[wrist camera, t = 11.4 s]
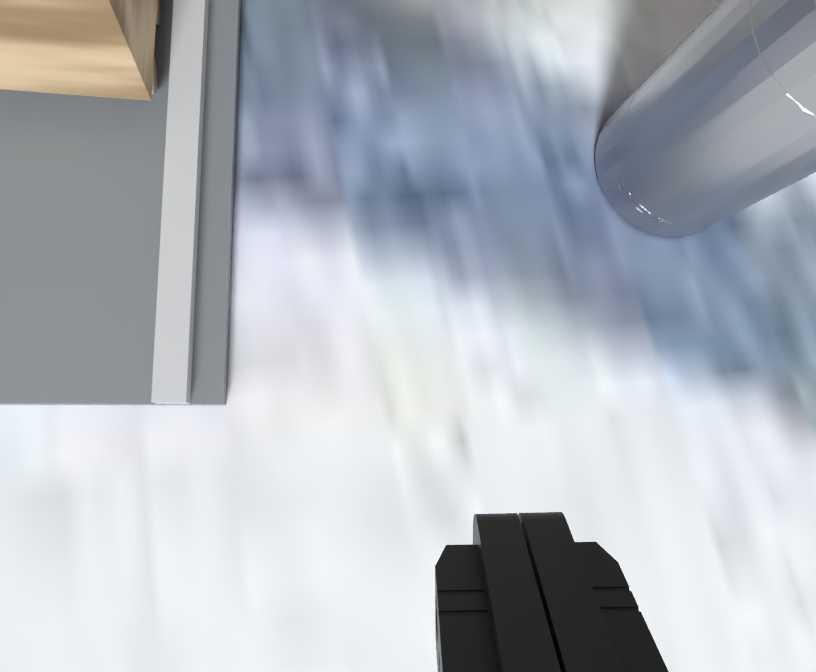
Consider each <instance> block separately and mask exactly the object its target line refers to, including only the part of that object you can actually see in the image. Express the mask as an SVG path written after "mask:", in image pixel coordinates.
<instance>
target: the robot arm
mask: <svg viewBox="0 0 816 672" xmlns="http://www.w3.org/2000/svg"><path fill="white" fill-rule="evenodd" d="M595 166H596V172H597V177H598V181H599V183H600V186H601V188H602V191H603V193H604V195H605V196H606V198H607V199H608V201H609V203H610V204H611V206H612V207H613V208H614V209H615V210H616V211H617V212H618V213H619V215H620V216H621V217H622V218H623V219H625V220H626V221H627V222H629V223H630V224H632V225H633V226H634V227H636V228H638V229H640V230H642V231H645V232H647V233H649V234H652V235H657V236H661V237H683V236H688V235H692V234H694V233H696V232H699V231H701V230H703V229H705V228H707V227H709V226H711V225H712V224H714V223H716V222H718V221H720V220H722V219H724V218H726V217H728V216H730V215H732V214H734V213H736V212H738V211H741V210H743V209H745V208H747V207H749V206H750V205H752V204H754V203H756V202H758V201H760V200H762V199H764V198H766V197H768V196H770V195H772V194H774V193H776V192H778V191H780V190H782V189H783V188H785V187H787V186H789V185H791V184H793V183H795V182H797V181H799V180H801V179H803V178H805V177H807V176H809V175H811V174H813V173H815V172H816V0H724V1H723V2H722V3H721V4H720V5H719V6H718V7H717V8H716V9H715V10H714V11H713V12H712V13H711V14H710V15H709V16H708V17H707V18H706V19H705V20H704V21H703V22H702V23H701V24H700V25H699V26H698V27H697V28H696V29H695V30H694V31H693V32H692V33H691V34H690V35H689V36H688V38H687V39H686V40H685V41H684V42H683V43H682V44H681V45H680V46H679V47H678V48H677V49H676V50H675V51H674V52H673V53H672V54H671V55H670V56H669V57H668V58H667V59H666V60H665V61H664V62H663V63H662V64H661V65H660V66H659V67H658V68H657V69H656V70H655V71H654V72H653V73H652V74H651V75H650V76H649V77H648V78H647V79H646V80H645V81H644V82H643V83H642V84H641V85H640V86H639V87H638V88H637V89H636V90H635V91H634V92H633V93H632V95H631V96H630V97H629V98H628V99H627V100H626V101H625V102H624V103H623V104H622V105H621V106H620V107H619V108H618V109H617V110H616V111H615V112H614V113H613V114H612V115H611V117H610V118H609V119H608V120H607V121H606V122H605V124H604V126H603V128H602V130H601V132H600V134H599V136H598V141H597V145H596V149H595ZM435 604H436V650H437V664H438V672H668V670H667V668H666V666H665V663H664V661H663V659H662V657H661V655H660V653H659V650H658V648H657V646H656V644H655V642H654V640H653V637H652V635H651V633H650V631H649V629H648V627H647V624H646V622H645V620H644V618H643V616H642V614H641V612H639V610H638V605H637V603H636V601H635V598H634V596H633V594H632V592H631V591H629V585H628V583H627V581H626V579H625V577H624V575H623V572H622V570H621V568H620V566H619V564H618V562H617V561H616V560H615V559H614V558H613V557H612V556H611V555H609V554H608V553H607V552H606V551H605V550H604V549H603V548H602V547H601V546H600V545H599V544H598V543H597V542H574V540H573V537H572V534H571V532H570V529H569V527H568V524H567V522H566V519H565V517H564V515H563V513H562V512H549V513H519V514H518V515H517V513H509V514H475V515H474V521H473V545H446V547H445V548H444V550H443V552H442V554H441V556H440V558H439V560H438V562H437V564H436V566H435Z"/></svg>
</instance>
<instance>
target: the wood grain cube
mask: <svg viewBox="0 0 816 672" xmlns="http://www.w3.org/2000/svg"><path fill="white" fill-rule="evenodd" d="M161 13H162V10H161V0H0V89H4V90H17V91H30V92H43V93H56V94H69V95H82V96H95V97H108V98H121V99H134V100H147V101H151V98H152V95H155V94H156V91H157V82H158V77H157V65H156V60H155V56H154V47H155V31H156V25H160V23H161Z"/></svg>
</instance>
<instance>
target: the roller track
mask: <svg viewBox="0 0 816 672" xmlns="http://www.w3.org/2000/svg"><path fill="white" fill-rule="evenodd" d="M161 10H162V13H161V23H160V25H156V31H155V47H154V56H155V60H156V65H157V77H158V82H157V91H156V94H155V95H152V98H151V101H147V100H134V99H121V98H108V97H95V96H82V95H69V94H56V93H43V92H30V91H17V90H4V89H0V404H24V405H226V383H227V356H228V330H229V303H230V277H231V250H232V224H233V197H234V171H235V144H236V118H237V91H238V65H239V38H240V12H241V0H161Z"/></svg>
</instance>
